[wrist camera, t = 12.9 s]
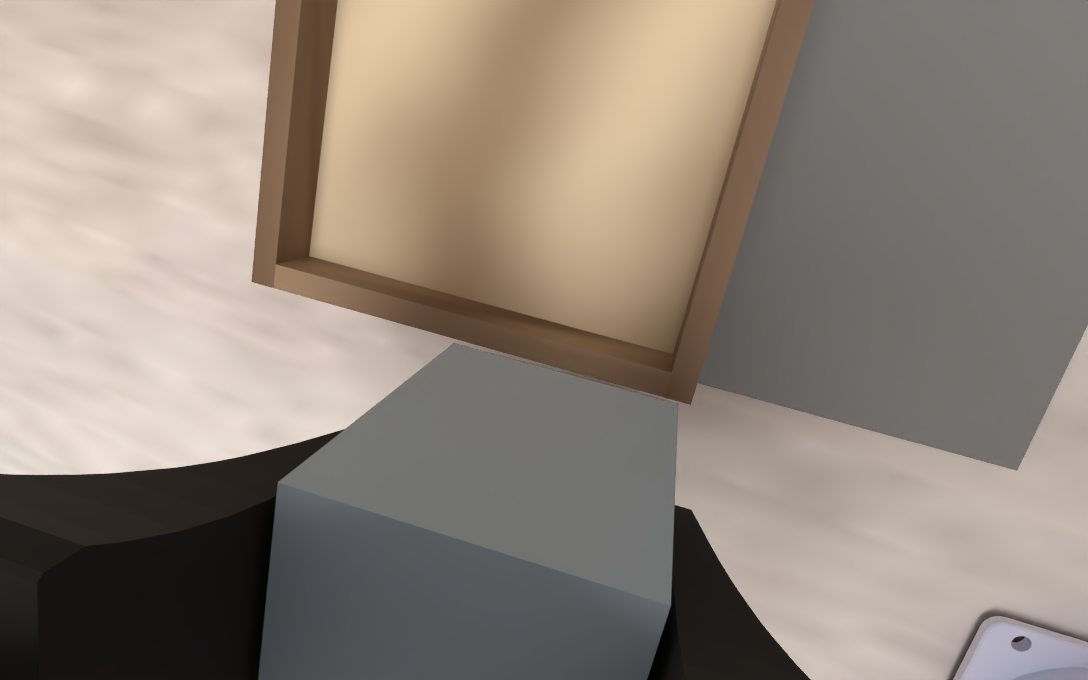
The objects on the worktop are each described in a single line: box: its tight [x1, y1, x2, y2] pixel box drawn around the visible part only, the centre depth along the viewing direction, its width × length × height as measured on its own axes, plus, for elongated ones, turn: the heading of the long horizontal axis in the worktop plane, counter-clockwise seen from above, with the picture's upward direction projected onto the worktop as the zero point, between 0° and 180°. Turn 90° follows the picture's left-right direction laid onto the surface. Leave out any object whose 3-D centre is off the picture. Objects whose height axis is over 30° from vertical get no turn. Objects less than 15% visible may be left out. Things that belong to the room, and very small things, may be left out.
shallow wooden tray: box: [252, 0, 815, 405], centre depth 16 cm, size 11×11×5 cm
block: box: [258, 343, 678, 680], centre depth 11 cm, size 4×4×6 cm
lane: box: [697, 0, 1088, 470], centre depth 18 cm, size 22×13×1 cm, turn 78°
